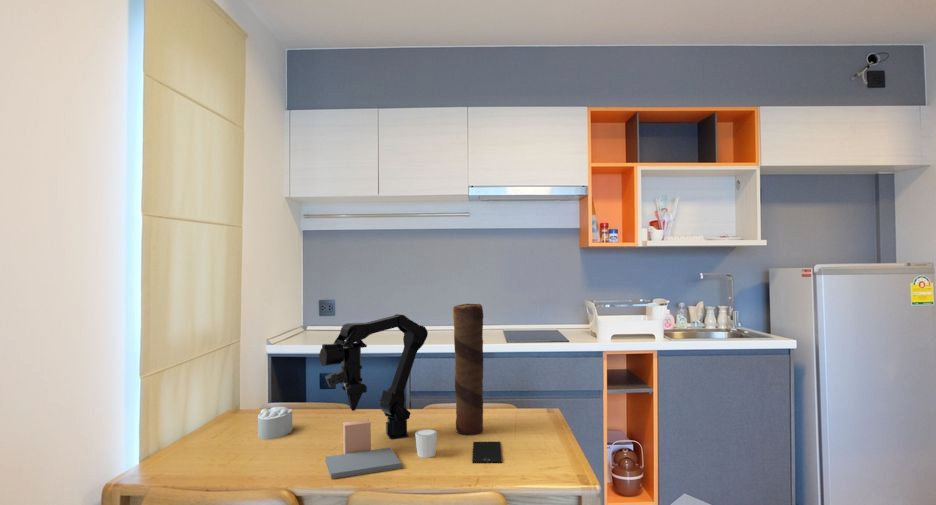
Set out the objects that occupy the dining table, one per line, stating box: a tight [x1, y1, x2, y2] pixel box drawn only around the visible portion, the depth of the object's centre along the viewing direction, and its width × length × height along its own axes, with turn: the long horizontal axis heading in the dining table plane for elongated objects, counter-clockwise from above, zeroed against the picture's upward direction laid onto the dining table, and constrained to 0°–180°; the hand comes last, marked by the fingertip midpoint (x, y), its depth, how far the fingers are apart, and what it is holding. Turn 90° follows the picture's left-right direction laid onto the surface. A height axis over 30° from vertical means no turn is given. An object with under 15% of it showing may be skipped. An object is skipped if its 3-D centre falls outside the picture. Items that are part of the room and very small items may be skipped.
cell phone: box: [471, 441, 503, 464], centre depth 171 cm, size 9×18×1 cm, turn 178°
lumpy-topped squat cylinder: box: [257, 406, 293, 441], centre depth 194 cm, size 10×13×9 cm
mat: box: [325, 447, 402, 480], centre depth 162 cm, size 20×14×2 cm
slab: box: [342, 419, 372, 454], centre depth 172 cm, size 8×4×10 cm, turn 111°
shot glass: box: [414, 428, 438, 459], centre depth 170 cm, size 7×7×7 cm
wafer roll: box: [452, 303, 484, 436], centre depth 193 cm, size 10×11×45 cm
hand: (352, 409), depth 179 cm, fingers open, 2 cm apart
